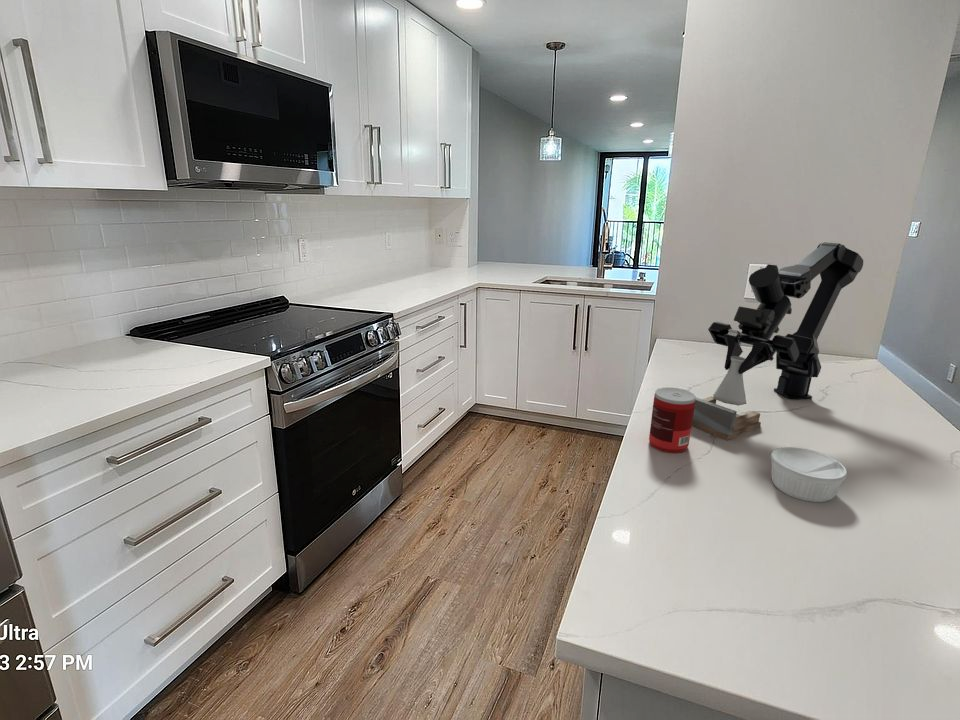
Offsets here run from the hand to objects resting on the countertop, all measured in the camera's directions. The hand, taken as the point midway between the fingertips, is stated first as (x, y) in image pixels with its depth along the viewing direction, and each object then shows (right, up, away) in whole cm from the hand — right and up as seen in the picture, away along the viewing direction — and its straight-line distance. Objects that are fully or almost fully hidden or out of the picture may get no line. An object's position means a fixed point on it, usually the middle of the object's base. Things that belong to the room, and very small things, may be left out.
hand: (732, 370), depth 117 cm
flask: (+1, -7, +3) cm, 8 cm away
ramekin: (0, -20, -25) cm, 32 cm away
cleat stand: (-3, -12, +2) cm, 12 cm away
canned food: (-18, -15, -10) cm, 25 cm away
